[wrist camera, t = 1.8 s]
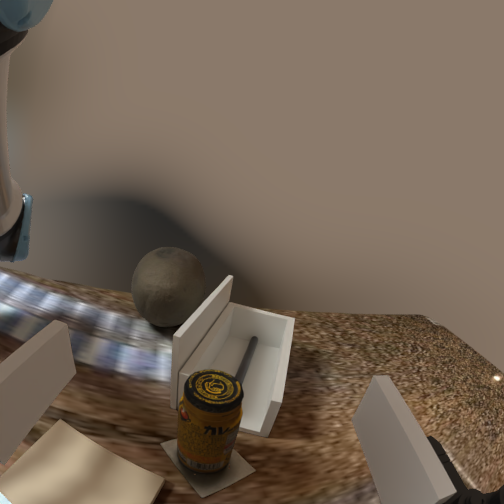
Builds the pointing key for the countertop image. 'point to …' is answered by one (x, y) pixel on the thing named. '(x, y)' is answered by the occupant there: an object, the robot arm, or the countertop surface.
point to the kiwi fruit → (168, 286)
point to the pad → (76, 473)
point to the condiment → (209, 432)
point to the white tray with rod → (236, 354)
